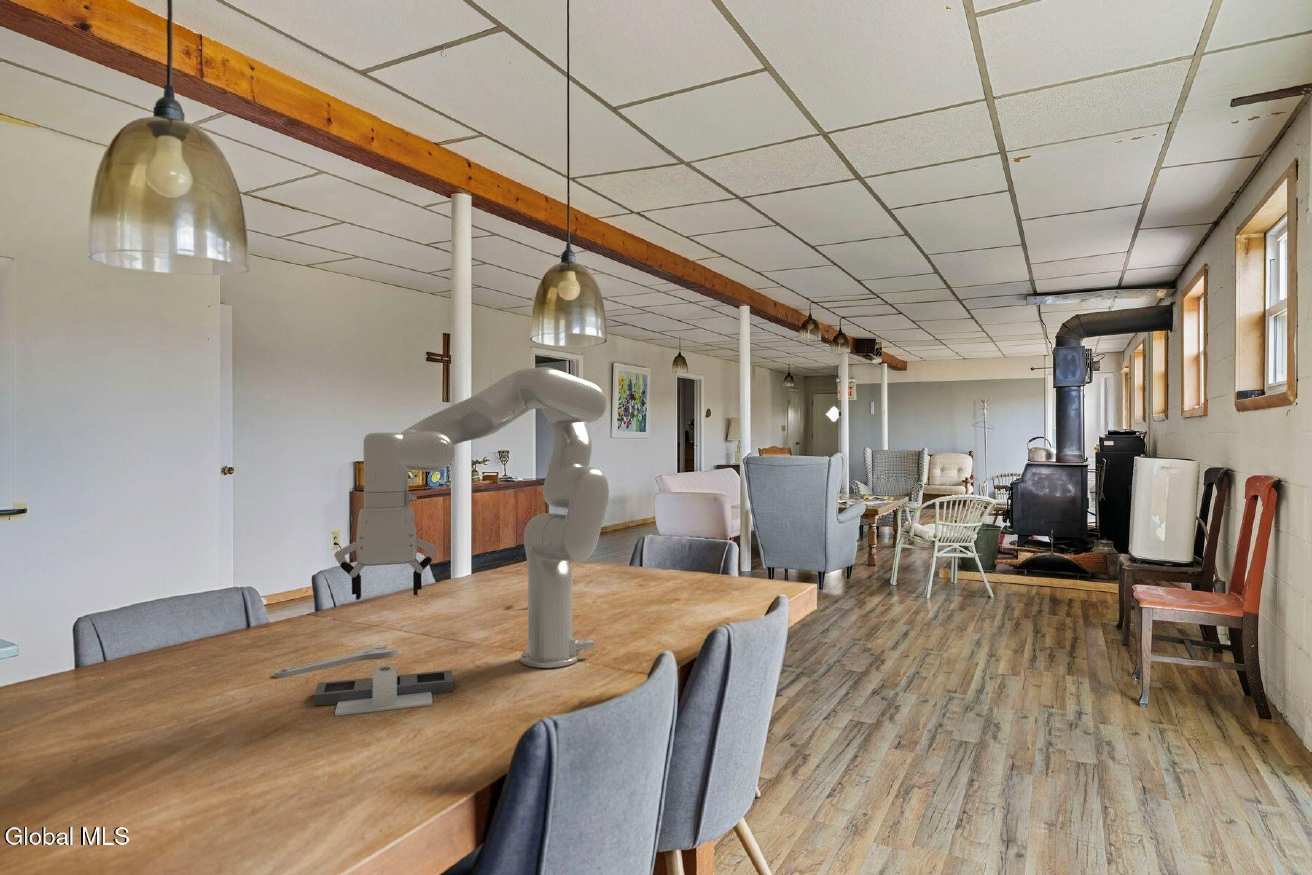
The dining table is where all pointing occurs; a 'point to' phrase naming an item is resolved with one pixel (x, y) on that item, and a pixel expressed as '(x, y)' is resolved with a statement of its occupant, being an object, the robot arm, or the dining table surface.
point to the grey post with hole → (384, 685)
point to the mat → (366, 706)
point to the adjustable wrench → (339, 661)
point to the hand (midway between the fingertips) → (387, 595)
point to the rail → (364, 687)
